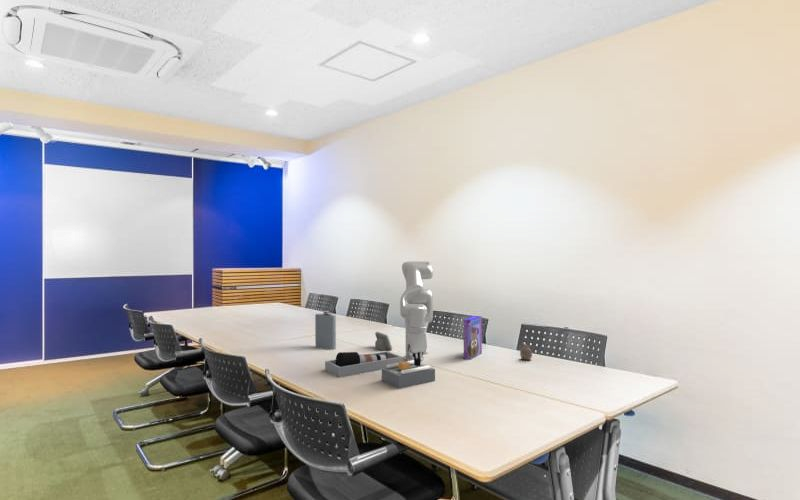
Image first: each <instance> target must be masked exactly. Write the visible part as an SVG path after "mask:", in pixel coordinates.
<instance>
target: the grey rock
mask: <svg viewBox="0 0 800 500" xmlns="http://www.w3.org/2000/svg"><path fill="white" fill-rule="evenodd" d="M375 338H376V340H375V342H374V345H375V347H374V348H375V349H377V350H379V351H380V352H384V351H393V347H392V344H391V340H390V337H389V335H388V334H385V333H383V332H380V331H375Z"/></svg>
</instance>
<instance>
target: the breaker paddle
mask: <svg viewBox="0 0 800 500" xmlns="http://www.w3.org/2000/svg"><path fill="white" fill-rule="evenodd" d="M399 369H400V370H407V369H410V362H407V361H406V360H403V361H402V362H399Z"/></svg>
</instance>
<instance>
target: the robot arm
mask: <svg viewBox="0 0 800 500" xmlns="http://www.w3.org/2000/svg"><path fill="white" fill-rule="evenodd" d="M401 271H402V274H403V277H404V279H405V290H404V291H403V293H402V294H401V296H400V298H399V299H400V300H399V311H400V312H399V313H400V317H402V318H404V323H405V324H404V325H405V326H404V327H405V355H404V356H402V357H403V361H411V360H414V365H416V366H420V364H422V363H421V362H422V361H423V360H424V359H425V357H424V356H425V355H428V354H429V353H428V351H427V349H428V343H427V342H428V340H427V334H426V331H425V330H426V329H427V327H426V325H425V324H428V323H429V324H430V323H432V322H433V320H434V319H433V318H434V305H433V292H432V291H431V290H430V289H428V288H425V289H424V285H423V284H424V283H423V282H424V281H423V280H431V279H433V275H434V270H433V266H432V263H431V262H430V261H425V260H424V261H419V260H418V261H415V260H414V261H405V262H403V263H402V265H401Z"/></svg>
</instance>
